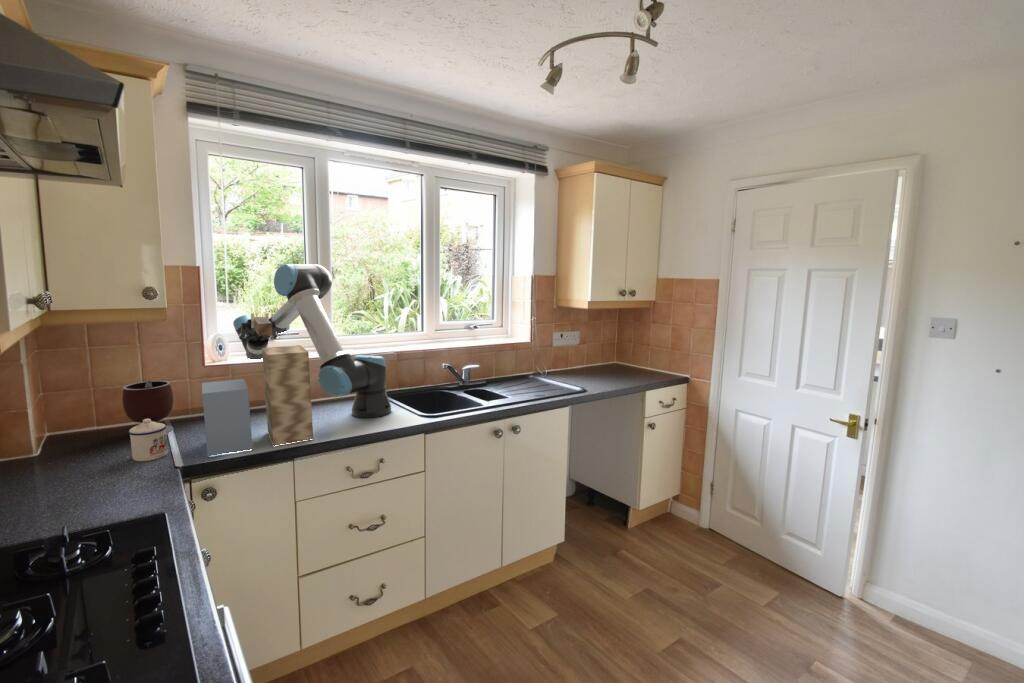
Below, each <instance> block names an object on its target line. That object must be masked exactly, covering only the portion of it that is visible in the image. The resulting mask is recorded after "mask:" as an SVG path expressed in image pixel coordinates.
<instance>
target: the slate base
mask: <svg viewBox="0 0 1024 683" xmlns="http://www.w3.org/2000/svg"><path fill="white" fill-rule="evenodd" d="M201 392H202V393H201V394H202V404H203V405H202V406H203V407H202V409H203V417H204V429H205V430H204V431H205V440H206V451H207V457H208V456H211V455H217V454H222V453H229V452H237V451H243V450H250V449H254V448H253V439H252V438H253V436H252V425H251V424H252V423H251V412H250V410H251V409H250V399H249V397H250V396H249V388H248V384H247V382H246V380H245V378H239V379H238V378H237V379H229V380H219V381H208V382H202V383H201Z"/></svg>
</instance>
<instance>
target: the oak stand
mask: <svg viewBox="0 0 1024 683" xmlns="http://www.w3.org/2000/svg"><path fill="white" fill-rule="evenodd" d="M262 354H263V361H262V365H263V366H262V367H263V381H264V382H263V383H264V396H265V410H266V421H267V422H266V424H267V434H268V436H270V437H269V439H270V441H272V442H271V444H272V443H273V444H272V446H273V445H274V446H275V445H280V444H286V443H292V442H297V441H303V440H310V439H313V440H314V431H313V430H314V428H313V427H314V426H313V414H312V413H313V412H312V411H313V410H312V395H311V394H312V392H311V373H310V372H311V371H310V356H309V354H310V353H309V351H308V350H306V348H304V347H303V346H301V345H287V346H285V345H284V346H272V347H270V346H269V347H267V348H262Z"/></svg>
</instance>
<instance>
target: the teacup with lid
mask: <svg viewBox="0 0 1024 683" xmlns="http://www.w3.org/2000/svg"><path fill="white" fill-rule="evenodd" d="M166 426H167V425H166V424H164V423H162V422H153V421H151V419H144V420H143V423H139V424H137V425H135V426H133V427H131V428H130V429H129V431H128V434H129V438H130V446H131V447H130V448H131V455H132V460H133V461H135V462H150V461H155V460H158V459H161V458H163V457H165V456H166V455H168V453H169V452H168V441H167V437H168V434H167V430H166Z"/></svg>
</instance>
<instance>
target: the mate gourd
mask: <svg viewBox="0 0 1024 683" xmlns="http://www.w3.org/2000/svg"><path fill="white" fill-rule="evenodd" d="M122 389H123V390H122V407H123V410H124V414H125V415H126V417H127V418H129V419H130V420H131V421H132V422H135V423H139V424H141V423H143V420H144V419H151V421H153V422H156V423H158V422H160V421H161V420H163V419H165V418H167V417H168V416H169V414H170V413H171V411H172V410H173V406H174V395H173V390H172V386H171V383H170V381H168V380H147V381H141V382H140V381H139V382H135V383H131V384H126V385H124V386H123V388H122ZM165 426H166V430H167V433H169V432H171V431H172V430H173V431H174V427H173V426H170V425H165ZM173 431H172V432H173ZM172 432H171V433H172ZM169 434H170V433H169Z"/></svg>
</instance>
